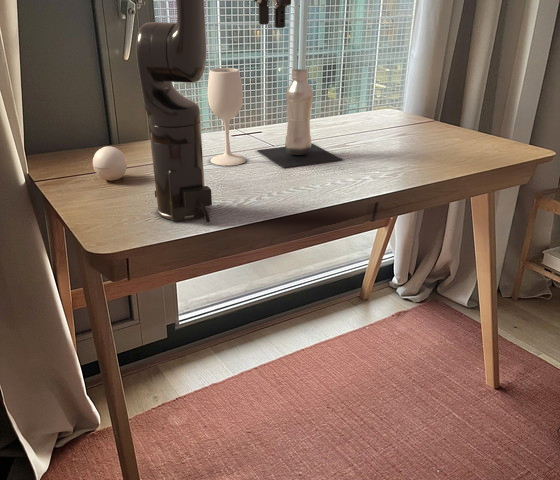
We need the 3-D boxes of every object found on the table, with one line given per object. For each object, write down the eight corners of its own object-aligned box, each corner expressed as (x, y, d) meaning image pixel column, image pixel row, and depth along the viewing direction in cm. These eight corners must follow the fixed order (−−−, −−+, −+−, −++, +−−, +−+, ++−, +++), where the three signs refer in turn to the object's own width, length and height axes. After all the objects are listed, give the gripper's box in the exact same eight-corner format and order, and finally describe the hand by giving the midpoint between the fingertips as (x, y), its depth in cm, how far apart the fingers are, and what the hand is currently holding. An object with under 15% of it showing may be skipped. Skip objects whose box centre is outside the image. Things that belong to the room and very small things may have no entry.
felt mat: (342, 160, 141) (342, 159, 141) (283, 168, 135) (283, 167, 135) (311, 144, 154) (311, 143, 153) (257, 151, 148) (257, 150, 148)
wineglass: (240, 167, 136) (237, 73, 125) (205, 164, 137) (200, 72, 127) (249, 157, 143) (247, 67, 132) (216, 154, 145) (211, 66, 134)
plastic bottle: (285, 150, 147) (286, 68, 137) (312, 151, 147) (314, 68, 137) (283, 157, 142) (284, 72, 132) (310, 158, 141) (313, 72, 131)
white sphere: (122, 172, 132) (118, 140, 128) (133, 181, 126) (129, 148, 123) (79, 179, 127) (73, 147, 123) (89, 189, 122) (83, 155, 118)
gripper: (241, -60, 122) (243, 24, 130) (269, -63, 110) (269, 29, 119) (273, -60, 124) (273, 23, 132) (303, -62, 113) (301, 28, 121)
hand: (271, 26), depth 126 cm, fingers open, 8 cm apart
